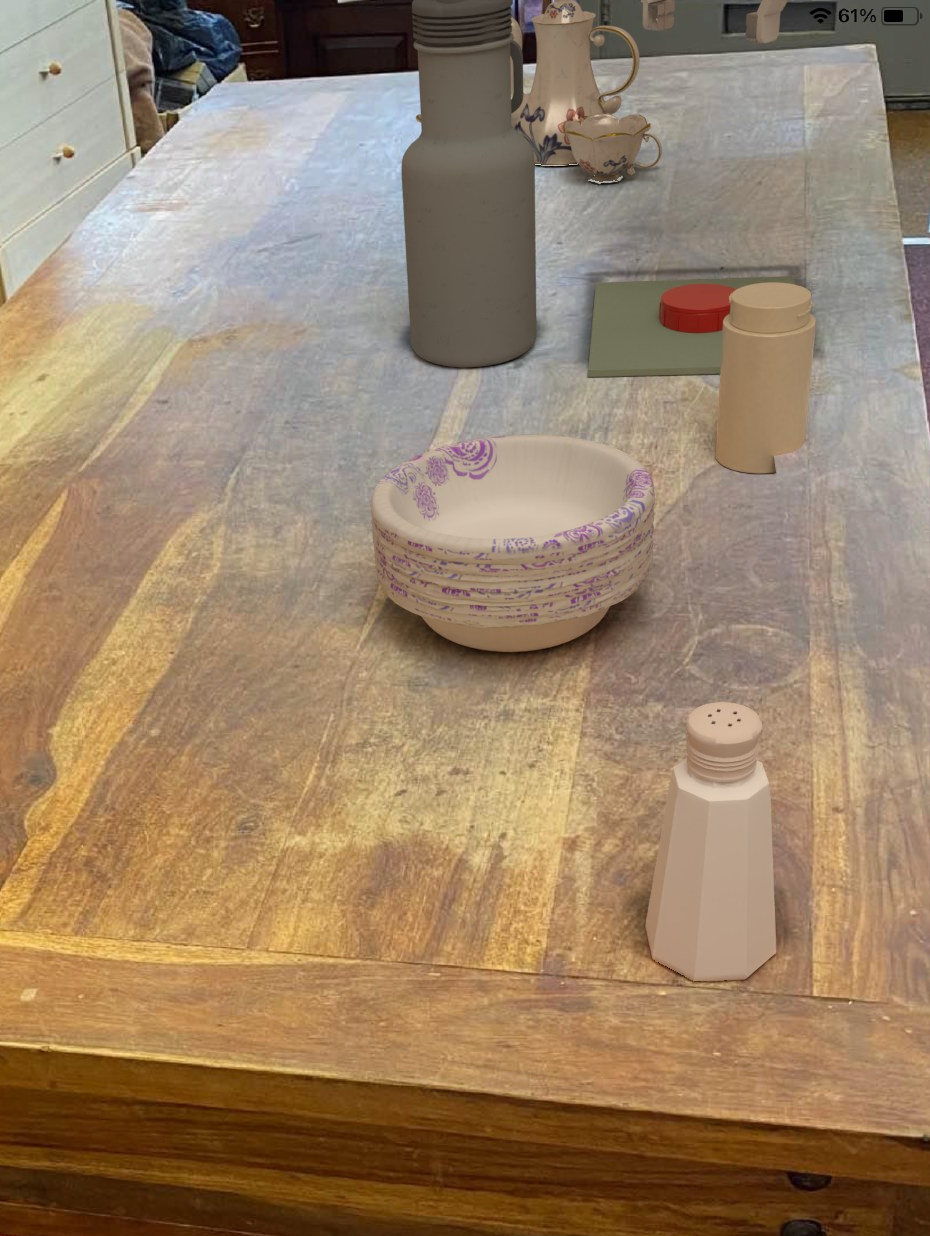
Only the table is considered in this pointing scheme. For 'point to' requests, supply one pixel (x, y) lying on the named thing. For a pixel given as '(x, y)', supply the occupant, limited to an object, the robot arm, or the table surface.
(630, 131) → the chinaware
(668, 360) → the mat
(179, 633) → the table surface
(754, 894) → the pepper shaker
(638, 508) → the paper bowls
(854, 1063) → the table surface
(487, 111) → the water bottle
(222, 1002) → the table surface
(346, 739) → the table surface
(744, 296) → the jar
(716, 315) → the lid
